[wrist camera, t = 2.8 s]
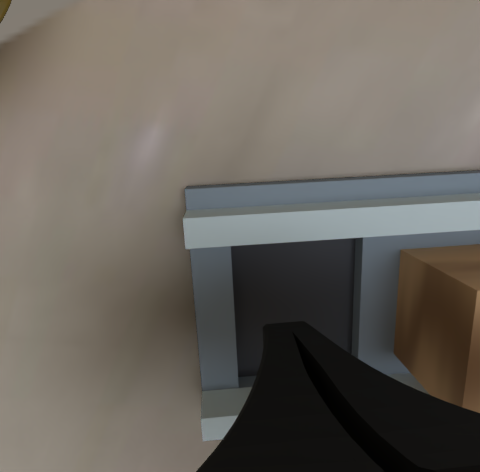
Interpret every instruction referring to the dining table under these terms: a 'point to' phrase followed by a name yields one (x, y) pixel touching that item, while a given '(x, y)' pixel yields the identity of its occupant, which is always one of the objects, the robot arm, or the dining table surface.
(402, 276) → the block
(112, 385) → the dining table surface
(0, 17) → the plant pot
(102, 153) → the dining table surface
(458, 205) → the channel
